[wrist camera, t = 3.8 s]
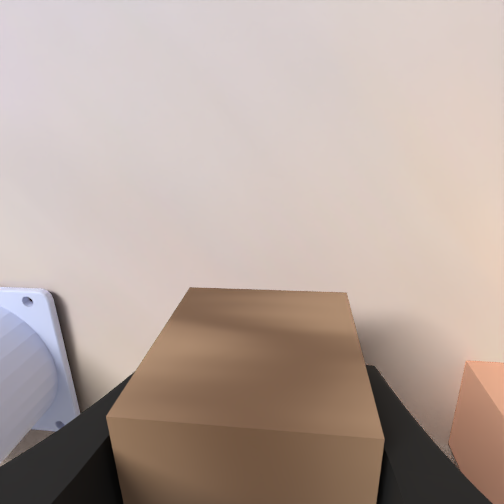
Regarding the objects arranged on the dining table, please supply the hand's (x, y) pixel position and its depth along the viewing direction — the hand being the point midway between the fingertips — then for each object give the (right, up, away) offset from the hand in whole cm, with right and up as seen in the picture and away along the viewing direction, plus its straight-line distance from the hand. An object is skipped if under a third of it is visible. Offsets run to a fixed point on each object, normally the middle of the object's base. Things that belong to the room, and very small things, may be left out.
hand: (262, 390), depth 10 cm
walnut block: (0, +1, +1) cm, 2 cm away
